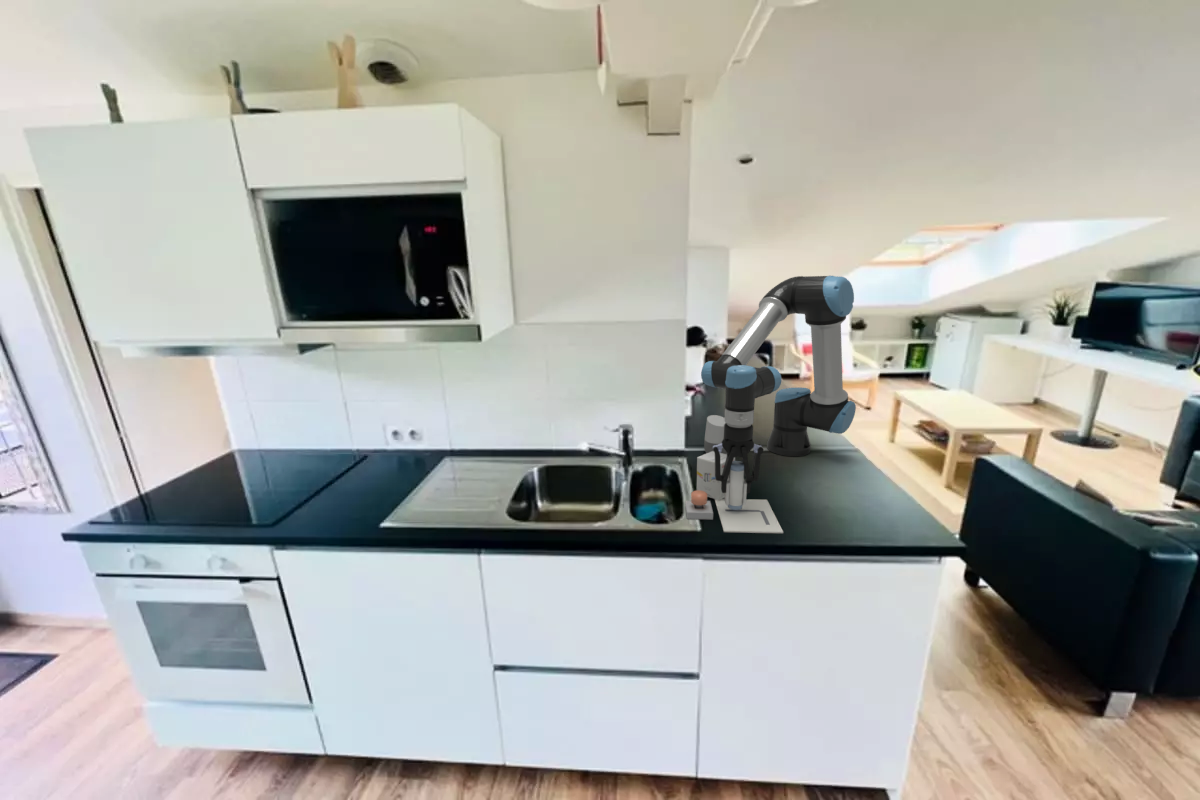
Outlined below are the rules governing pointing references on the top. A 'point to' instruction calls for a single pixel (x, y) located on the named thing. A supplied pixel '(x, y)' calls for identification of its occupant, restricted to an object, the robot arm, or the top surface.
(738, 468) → the marker
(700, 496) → the button
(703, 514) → the button box
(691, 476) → the top surface
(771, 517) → the white flat board
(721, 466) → the ink box
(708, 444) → the smart speaker
